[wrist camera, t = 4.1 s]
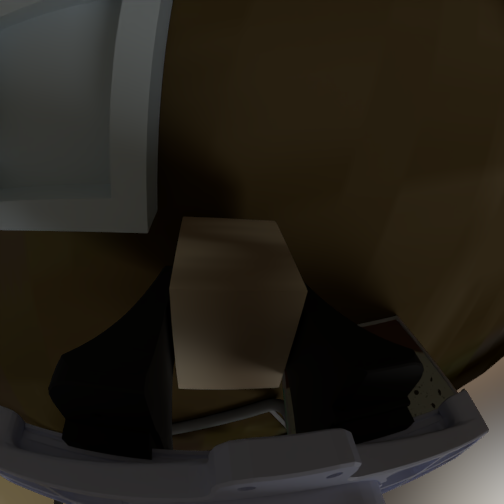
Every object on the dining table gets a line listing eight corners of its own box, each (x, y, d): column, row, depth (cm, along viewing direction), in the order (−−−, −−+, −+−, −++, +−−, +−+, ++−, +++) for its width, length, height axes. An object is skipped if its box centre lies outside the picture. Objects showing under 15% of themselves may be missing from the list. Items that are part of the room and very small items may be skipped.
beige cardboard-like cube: (183, 307, 15) (178, 388, 10) (182, 216, 12) (169, 288, 8) (260, 308, 15) (278, 387, 11) (275, 221, 13) (307, 290, 9)
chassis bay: (-9, 211, 12) (-32, 229, 10) (-8, 15, 6) (-35, 12, 4) (157, 210, 14) (147, 233, 12) (178, -29, 8) (172, -51, 6)
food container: (258, 389, 22) (279, 502, 14) (255, 341, 19) (282, 483, 11) (392, 361, 23) (438, 450, 15) (412, 311, 20) (478, 411, 12)
